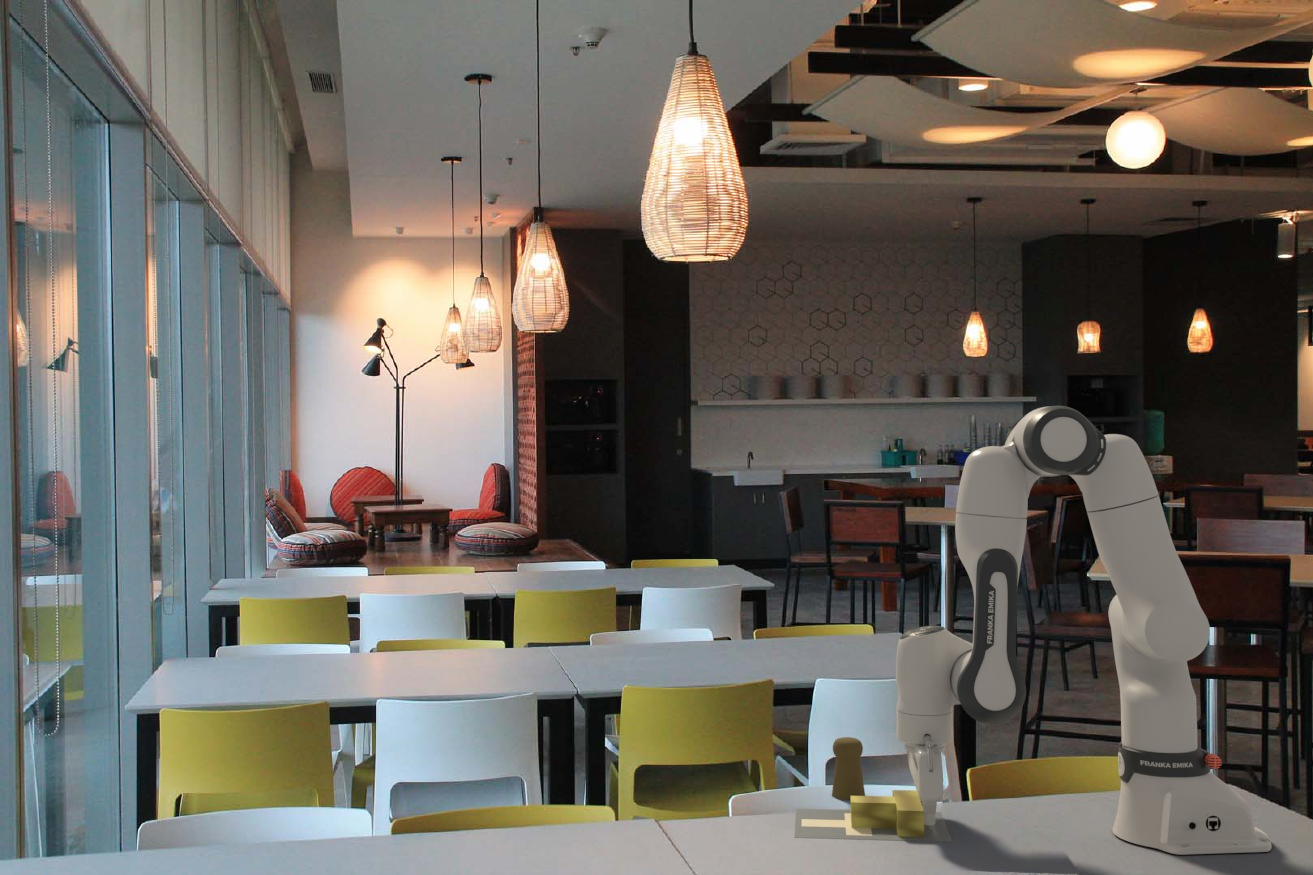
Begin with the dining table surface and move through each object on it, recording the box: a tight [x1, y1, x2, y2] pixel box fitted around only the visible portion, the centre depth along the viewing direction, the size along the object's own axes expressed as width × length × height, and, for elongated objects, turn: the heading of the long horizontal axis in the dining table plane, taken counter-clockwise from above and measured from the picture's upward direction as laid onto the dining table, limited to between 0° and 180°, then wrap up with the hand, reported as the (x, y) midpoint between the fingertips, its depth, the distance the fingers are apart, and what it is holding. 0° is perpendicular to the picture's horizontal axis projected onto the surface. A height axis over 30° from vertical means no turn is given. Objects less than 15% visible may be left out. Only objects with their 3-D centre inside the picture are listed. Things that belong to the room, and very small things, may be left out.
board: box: [794, 808, 953, 843], centre depth 193 cm, size 24×16×1 cm, turn 83°
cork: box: [831, 736, 866, 801], centre depth 210 cm, size 6×6×11 cm
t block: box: [850, 789, 924, 837], centre depth 193 cm, size 11×12×4 cm
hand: (926, 815), depth 192 cm, fingers open, 8 cm apart
